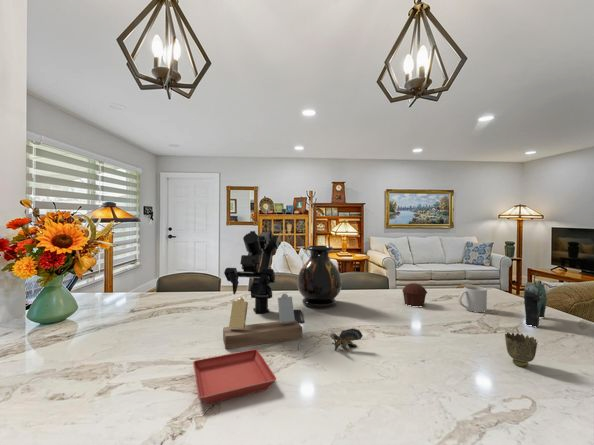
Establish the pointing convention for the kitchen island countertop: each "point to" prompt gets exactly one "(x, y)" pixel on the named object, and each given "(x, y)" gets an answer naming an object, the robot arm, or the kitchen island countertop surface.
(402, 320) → the kitchen island countertop surface
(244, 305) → the brass lever
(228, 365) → the plant saucer
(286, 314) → the slate lever
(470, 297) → the mug
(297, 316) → the phone
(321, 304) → the amphora vase
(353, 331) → the eagle figurine
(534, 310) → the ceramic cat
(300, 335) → the walnut panel
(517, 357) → the cup
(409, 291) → the muffin
